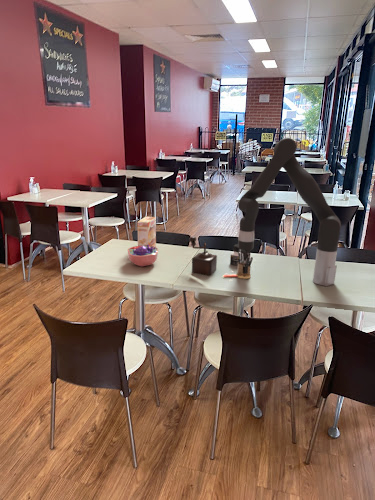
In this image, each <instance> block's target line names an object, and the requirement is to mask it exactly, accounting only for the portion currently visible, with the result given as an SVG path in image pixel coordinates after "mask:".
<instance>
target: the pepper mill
mask: <svg viewBox="0 0 375 500" xmlns="http://www.w3.org/2000/svg"><path fill="white" fill-rule="evenodd" d="M188 242H190V243H191V244H190V246H191V247H192V249H195V250H196V249H197V250H198V249H199V250H200V249H203V252H198V253H197V254H196V255H195V256H194V257H192V258H191V273H192V276H194V277H195V275H194V274H197V275H203V276H209V277H211V276H212V275H213V274H214V273H215V272H216V271H217V261H218V255H217V254H212V253H210V252H208V251H207V250H206V249H207V243H206V242H205V243H203V246H196V245H197V243H196V242H197V238H196V237H195V236H190V237H189V239H188Z"/></svg>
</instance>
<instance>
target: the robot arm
mask: <svg viewBox="0 0 375 500" xmlns="http://www.w3.org/2000/svg"><path fill="white" fill-rule="evenodd" d="M296 152H297V143H296V141H295V140H294V139H292V138H290V137H284V138H282V139H280V140H279V141H278V142H277V143H276V144H275V146H274V148H273V155H272V157H271V159H270V161H269V162H268V163H267V164H266V166H265V167H264V169H263V170H262V171H261V172H260V174H259V175H258V176H257V178H256V180H255V181H254V182H253V185H252V186H251V187H250V188H249V189H248V190H247V191H246V192H245V193H244V194H243V195H242V196H241V197H240V199H239V201H238V204H237V207H238V209H239V211H241V212H243V213H245V215H244V216H243V217H242V218H241V219H240V221H239V231H238V239H237V240H238V242H237V244H238V248H239V249H240V250H238V255H239V262H240V263H243V273H244V274H247V273H248V267H250V266H251V265H252V262H253V258H254V257H253V256H251V251H252V250H253V249H254V245H255V243H254V242H255V227H256V226H255V223H256V219H257V217H258V215H259V210H260V206H259V205H260V204H259V202H258V201H257V199H259V198H260V199H261V198H263V197H264V196H265V194H266V193H267V191H268V190H269V189H270V187H271V185H272V184H273V182H274V180H275V179H276V177H277V176H278V174H279V172H280V171H281V169H282V168H283V169H284V171H285V172H286V174H287V176H288V177H289V179H290V181H291V182H292V184H293V186H294V188H295V189H296V191H297V193H298V194H299V196H300V198H301V199H302V200H303V202H304V203H305V204H306V205H307V206H308V207H309V208H310V209H311V210H312V212H313V213H314V215H315V217H316V218H317V220H318V223H319V226H318V227H319V228H318V235H317V244H316V254H315V262H314V268H313V277H312V282H313V283H314V284H316V285H319V286H325V287H329V286H333V285H334V284H335V281H336V273H337V265H336V262H337V256H338V255H337V253H338V248H339V240H340V233H341V228H342V221H341V220H340V218H339V217H338V216H337V215H336V213H335V212H334V210H333V209H332V208H331V206H330V205H329V204H328V202H327V200H326V198H325V196H324V194H323V192H322V190H321V189H320V185H319V184H318V183H317V181H316V180H315V178H314V177H313V176H312V175H311V174H310V172H309V171H307V170H306V169H305V168H304V167H303V166H302V165H301V164H300V162H299V161H298V159H297V157H296V156H295V154H296Z"/></svg>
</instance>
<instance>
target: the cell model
mask: <svg viewBox="0 0 375 500" xmlns="http://www.w3.org/2000/svg"><path fill="white" fill-rule="evenodd" d="M158 253H159V249H158V248H157V246H156V247H154V246H150V245H140V246H138V245H135V246H131V247H129V248H127V255H128V256H127V258H128V260H129V261H130V262H131V263H132V264H133V265H136V266H138V267H147V266H150V265H153V264H155V263H156V262H157V259H158V255H159V254H158Z"/></svg>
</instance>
